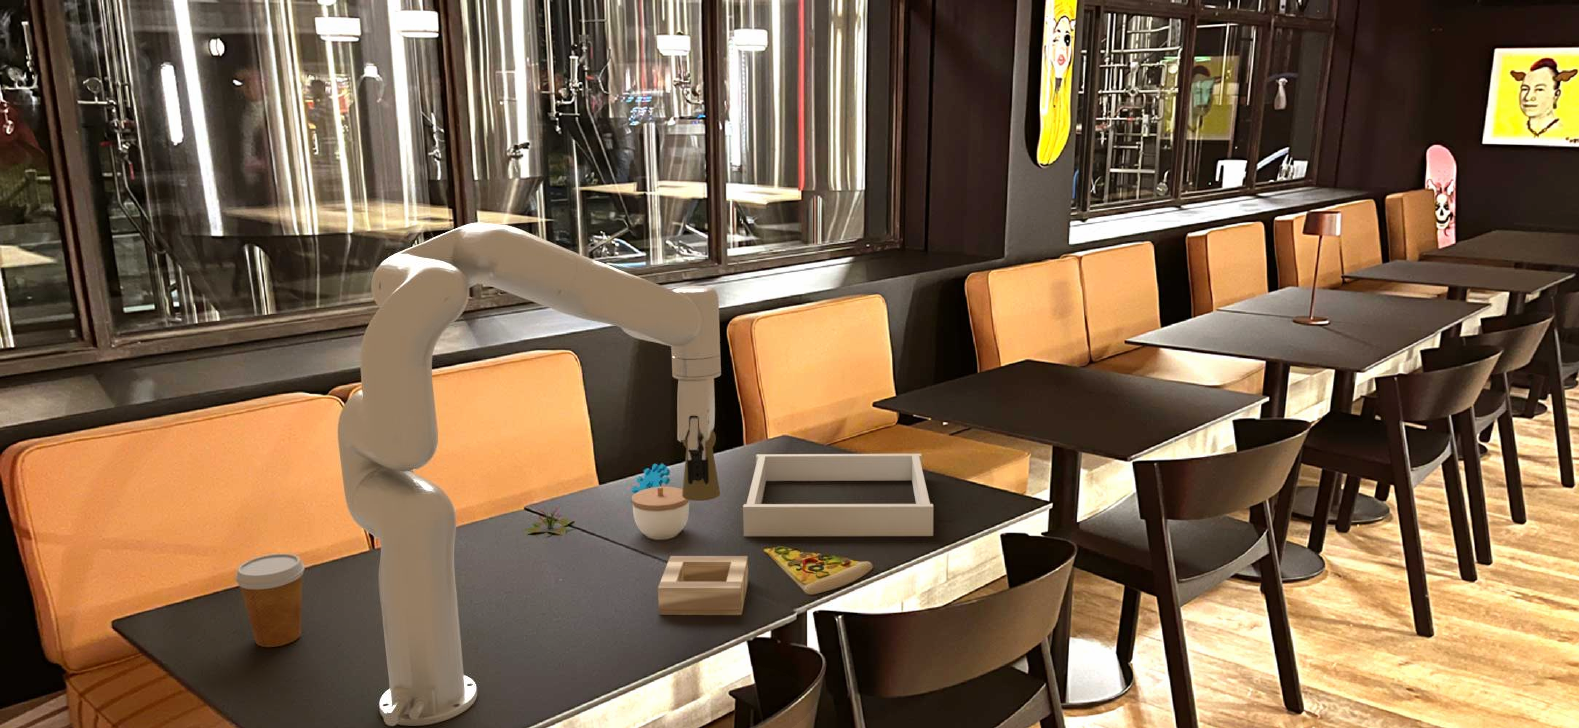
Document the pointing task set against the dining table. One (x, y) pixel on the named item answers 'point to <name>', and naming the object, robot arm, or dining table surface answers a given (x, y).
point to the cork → (699, 488)
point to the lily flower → (549, 524)
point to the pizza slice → (817, 569)
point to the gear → (652, 478)
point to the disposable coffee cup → (273, 597)
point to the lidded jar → (660, 511)
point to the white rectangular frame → (838, 516)
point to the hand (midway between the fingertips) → (700, 477)
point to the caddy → (703, 585)
